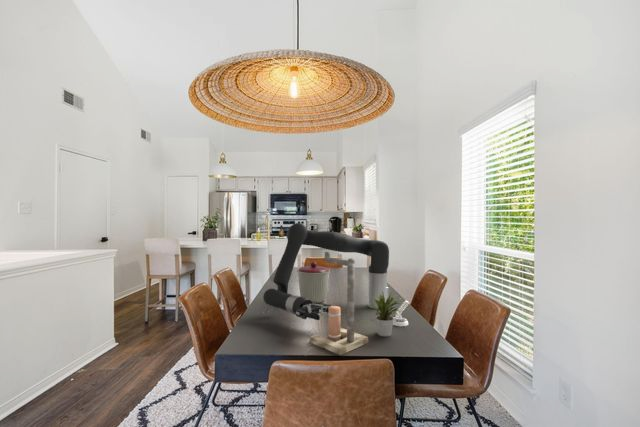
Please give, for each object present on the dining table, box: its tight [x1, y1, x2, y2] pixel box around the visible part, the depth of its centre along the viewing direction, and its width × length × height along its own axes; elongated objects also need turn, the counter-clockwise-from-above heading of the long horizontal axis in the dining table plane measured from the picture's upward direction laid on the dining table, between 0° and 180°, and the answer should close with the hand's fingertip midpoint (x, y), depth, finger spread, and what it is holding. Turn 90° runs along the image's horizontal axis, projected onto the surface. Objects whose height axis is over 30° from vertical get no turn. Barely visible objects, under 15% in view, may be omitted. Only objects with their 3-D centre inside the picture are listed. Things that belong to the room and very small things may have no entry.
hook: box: [393, 300, 410, 327], centre depth 134 cm, size 8×12×7 cm
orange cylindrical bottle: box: [327, 305, 342, 342], centre depth 115 cm, size 5×5×12 cm
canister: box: [296, 261, 331, 304], centre depth 168 cm, size 18×18×21 cm
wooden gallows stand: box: [309, 251, 369, 356], centre depth 113 cm, size 14×15×32 cm
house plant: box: [368, 291, 401, 337], centre depth 120 cm, size 14×14×16 cm
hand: (327, 314), depth 117 cm, fingers open, 8 cm apart
